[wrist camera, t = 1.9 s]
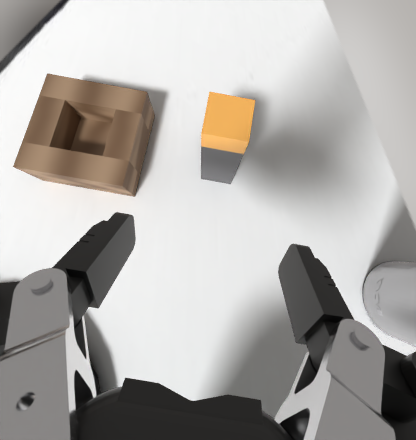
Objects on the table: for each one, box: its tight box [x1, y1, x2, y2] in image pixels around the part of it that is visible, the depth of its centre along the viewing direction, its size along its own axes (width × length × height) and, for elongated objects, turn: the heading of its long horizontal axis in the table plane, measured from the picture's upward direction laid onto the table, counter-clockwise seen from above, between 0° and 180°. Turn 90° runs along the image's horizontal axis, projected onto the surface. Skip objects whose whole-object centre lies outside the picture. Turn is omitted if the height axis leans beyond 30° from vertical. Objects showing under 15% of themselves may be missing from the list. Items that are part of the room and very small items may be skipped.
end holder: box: [13, 74, 155, 197], centre depth 24 cm, size 12×12×4 cm
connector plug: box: [201, 92, 255, 184], centre depth 21 cm, size 4×4×10 cm
